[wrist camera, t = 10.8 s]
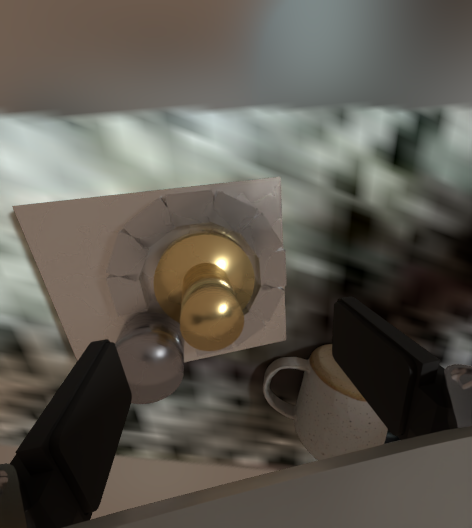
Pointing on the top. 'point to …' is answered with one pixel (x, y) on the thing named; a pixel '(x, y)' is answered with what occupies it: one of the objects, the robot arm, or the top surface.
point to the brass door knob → (205, 288)
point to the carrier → (153, 270)
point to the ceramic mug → (326, 407)
